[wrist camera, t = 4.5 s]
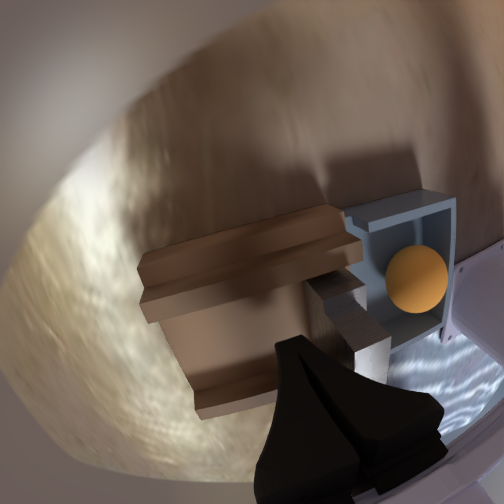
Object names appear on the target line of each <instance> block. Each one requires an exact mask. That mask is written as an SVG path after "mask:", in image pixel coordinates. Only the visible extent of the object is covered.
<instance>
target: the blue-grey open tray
mask: <svg viewBox="0 0 504 504" xmlns="http://www.w3.org/2000/svg"><path fill="white" fill-rule="evenodd" d="M340 210H342V211H344V216H345V224H346V231H347V232H349V233H351V234H352V235H354V236H356V237H358V238H359V239H361V240H362V244H363V258H364V261H361V262H358V263H355V264H352V265H350V272H351V273H352V274H353V275H355V276H356V277H357V278H358V279H359V280H361V281H362V282H363V283H364V284H366V297H367V312H368V313H369V314H370V315H371V316H372V317H373V318H374V319H375V320H376V321H377V322H378V323H379V324H380V325H381V326H382V327H383V328H384V329H385V330H386V331H387V332H388V333H389V334H390V335H391V336H392V338H391V349H390V355H392V354H394V353H396V352H398V351H400V350H402V349H404V348H406V347H408V346H409V345H411V344H413V343H415V342H417V341H419V340H421V339H422V338H424V337H426V336H428V335H430V334H431V333H433V332H435V331H437V330H438V329H440V328H442V327H443V326H445V325H446V320H447V314H448V308H449V302H450V295H451V288H452V279H453V270H454V258H455V242H456V197H453V196H449V195H445V194H442V193H438V192H434V191H430V190H426V189H420V190H416V191H412V192H408V193H404V194H400V195H396V196H392V197H388V198H384V199H380V200H376V201H372V202H368V203H364V204H360V205H356V206H352V207H348V208H344V209H340ZM412 245H423V246H427V247H430V248H431V249H433V250H435V251H436V252H437V253H438V254H439V255H440V256H441V257H442V259H443V261H444V262H445V265H446V268H447V272H448V284H447V288H446V292H445V294H444V296H443V298H442V299H441V300H440V302H439V303H438V304H437V305H436V306H434V307H433V308H431V309H430V310H428V311H425V312H422V313H410V312H406V311H404V310H402V309H400V308H399V307H397V306H396V305H395V304H394V303H393V302H392V300H391V299H390V297H389V295H388V293H387V290H386V285H385V275H386V270H387V267H388V265H389V263H390V261H391V259H392V258H393V257H394V255H395V254H396V253H398V252H399V251H400V250H402V249H403V248H405V247H408V246H412Z"/></svg>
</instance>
